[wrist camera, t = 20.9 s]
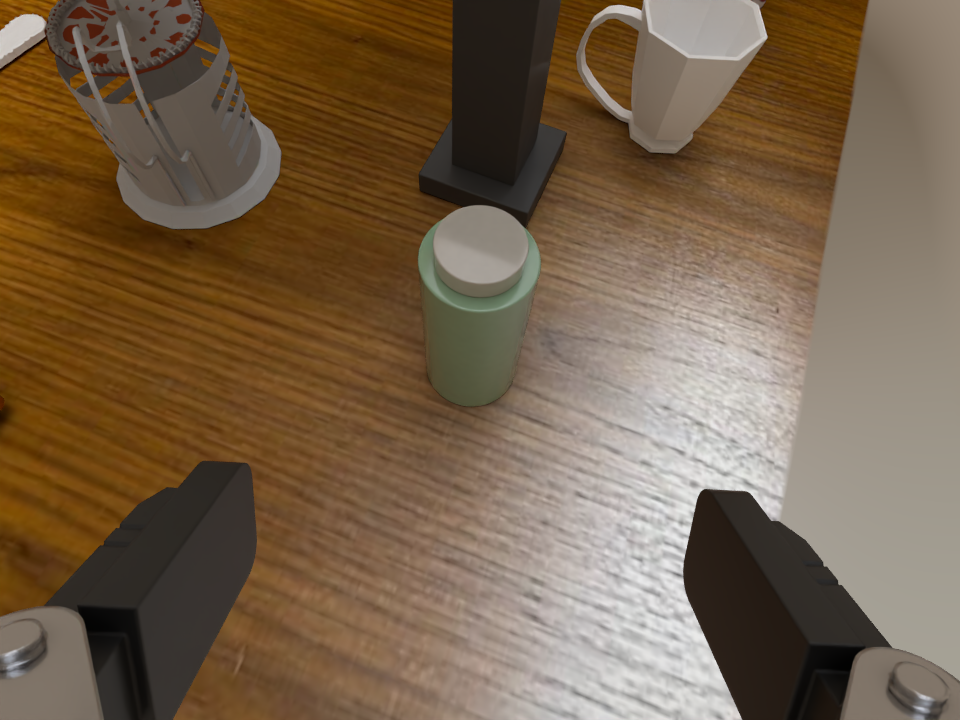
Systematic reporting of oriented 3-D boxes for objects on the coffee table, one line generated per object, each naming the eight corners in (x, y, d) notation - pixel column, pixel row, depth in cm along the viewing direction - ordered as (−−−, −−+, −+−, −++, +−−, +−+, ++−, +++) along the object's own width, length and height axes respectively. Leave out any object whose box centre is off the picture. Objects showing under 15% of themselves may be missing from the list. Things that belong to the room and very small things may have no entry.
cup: (696, 184, 39) (754, 77, 31) (550, 133, 40) (572, 18, 33) (722, 111, 42) (780, -2, 34) (584, 66, 43) (612, -53, 36)
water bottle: (528, 344, 33) (562, 217, 23) (495, 420, 31) (517, 317, 21) (448, 313, 34) (448, 176, 24) (411, 386, 32) (394, 270, 22)
